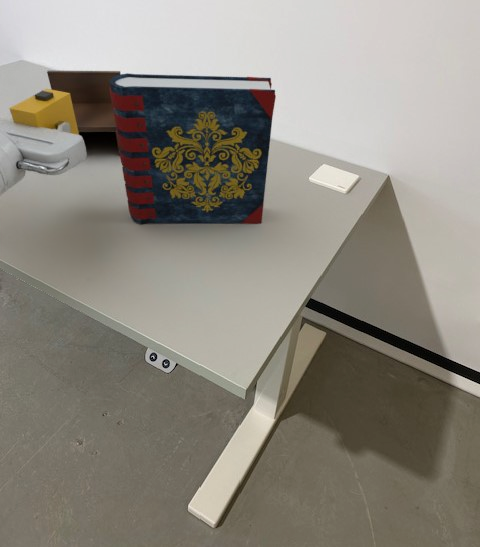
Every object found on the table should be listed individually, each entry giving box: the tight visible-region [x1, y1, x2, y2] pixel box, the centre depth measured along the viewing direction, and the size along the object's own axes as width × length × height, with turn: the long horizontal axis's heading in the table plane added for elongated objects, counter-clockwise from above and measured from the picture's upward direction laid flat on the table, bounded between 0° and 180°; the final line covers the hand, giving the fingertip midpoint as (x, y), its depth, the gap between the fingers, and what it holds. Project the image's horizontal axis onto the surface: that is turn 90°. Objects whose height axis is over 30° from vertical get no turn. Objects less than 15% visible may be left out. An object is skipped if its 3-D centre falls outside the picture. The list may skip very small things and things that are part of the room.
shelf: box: [46, 70, 122, 157], centre depth 95 cm, size 16×14×14 cm
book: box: [109, 72, 276, 225], centre depth 73 cm, size 25×7×25 cm, turn 94°
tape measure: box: [8, 88, 80, 135], centre depth 69 cm, size 9×4×10 cm, turn 162°
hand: (50, 122), depth 70 cm, fingers closed on tape measure, 4 cm apart
